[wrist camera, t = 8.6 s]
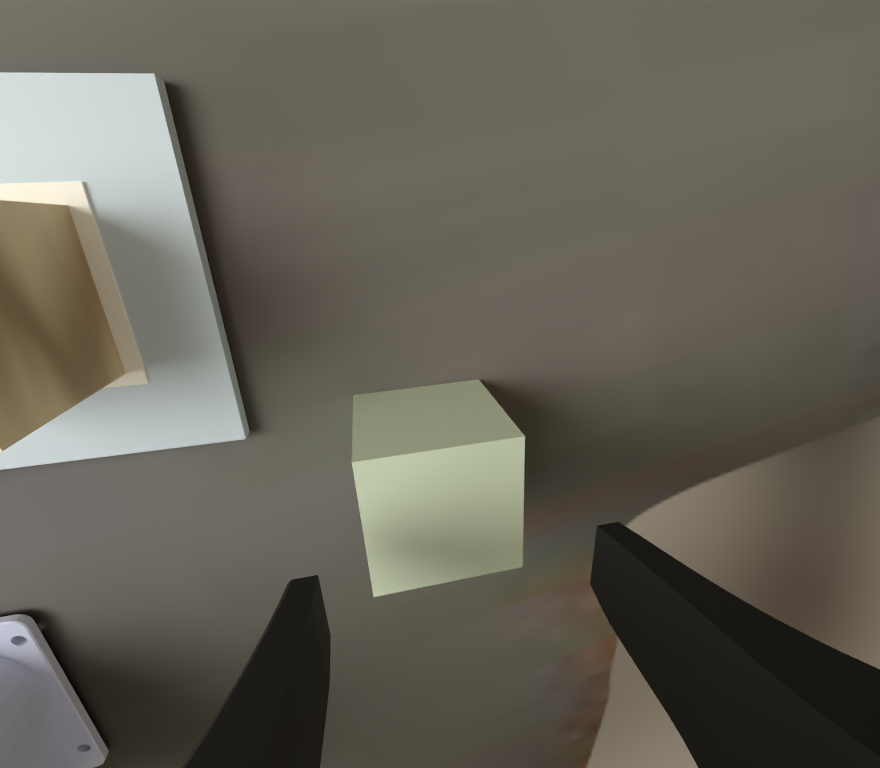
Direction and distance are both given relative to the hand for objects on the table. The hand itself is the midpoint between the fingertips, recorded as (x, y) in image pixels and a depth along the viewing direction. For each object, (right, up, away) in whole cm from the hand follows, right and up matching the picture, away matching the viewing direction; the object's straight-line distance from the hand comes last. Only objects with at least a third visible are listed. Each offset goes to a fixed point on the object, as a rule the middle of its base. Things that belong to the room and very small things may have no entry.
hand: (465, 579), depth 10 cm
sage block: (-1, +3, +7) cm, 7 cm away
